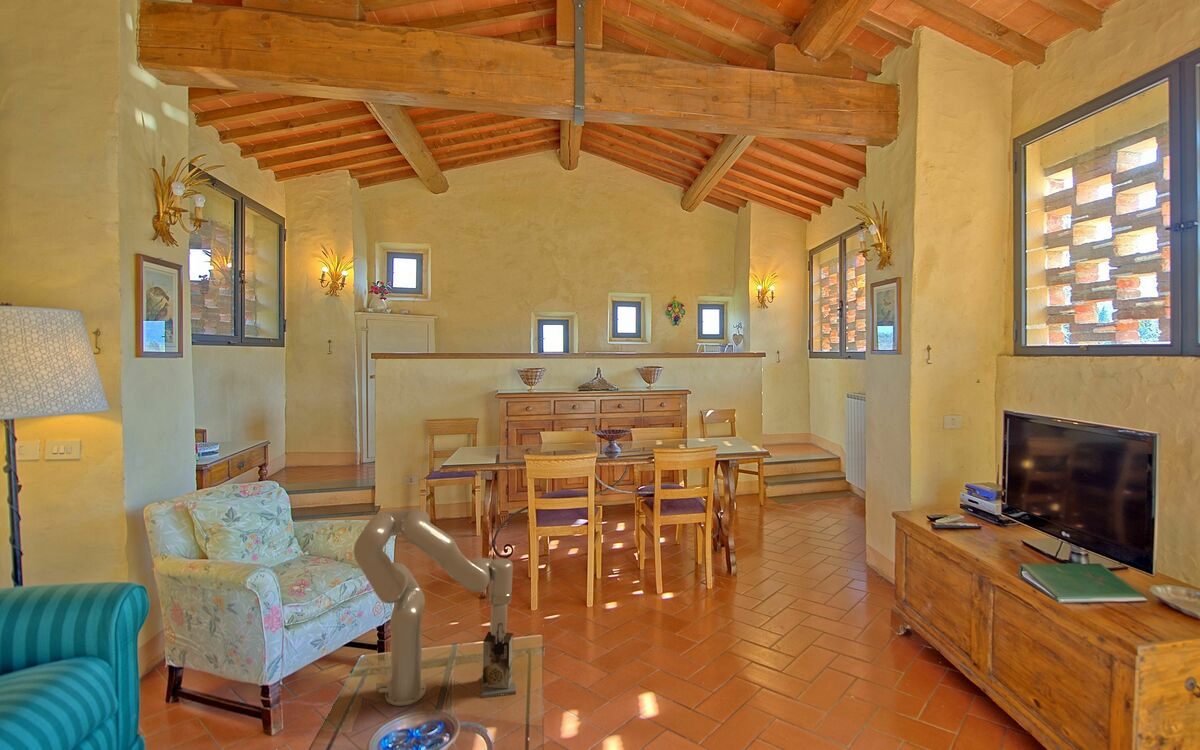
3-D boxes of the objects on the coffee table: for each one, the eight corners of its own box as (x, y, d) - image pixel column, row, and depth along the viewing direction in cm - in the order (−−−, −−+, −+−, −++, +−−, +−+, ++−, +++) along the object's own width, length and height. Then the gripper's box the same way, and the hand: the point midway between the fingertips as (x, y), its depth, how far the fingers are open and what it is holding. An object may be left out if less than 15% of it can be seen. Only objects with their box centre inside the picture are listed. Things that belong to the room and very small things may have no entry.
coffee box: (512, 677, 189) (514, 632, 188) (508, 689, 183) (509, 642, 182) (487, 675, 190) (488, 630, 189) (481, 687, 183) (483, 640, 183)
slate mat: (482, 697, 180) (482, 694, 179) (481, 677, 190) (481, 675, 190) (515, 693, 182) (515, 691, 182) (512, 674, 193) (513, 671, 193)
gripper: (488, 586, 192) (486, 633, 193) (490, 609, 175) (487, 661, 176) (509, 585, 194) (507, 632, 195) (513, 608, 177) (511, 659, 178)
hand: (498, 646), depth 185 cm, fingers open, 9 cm apart
